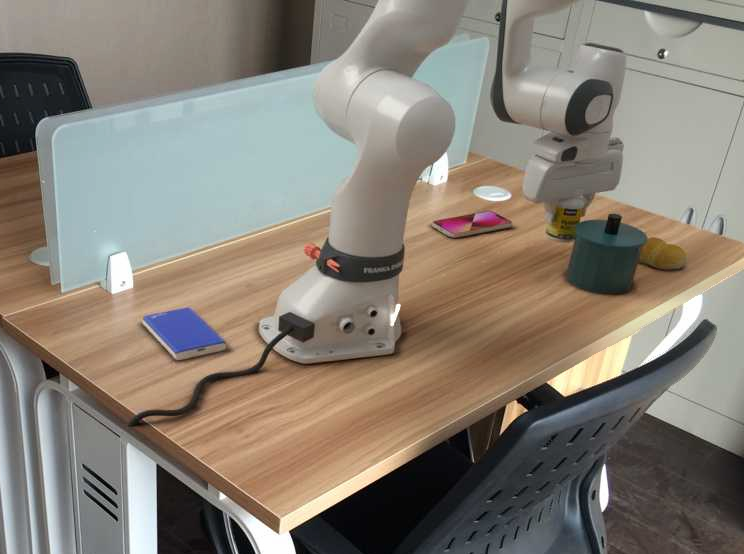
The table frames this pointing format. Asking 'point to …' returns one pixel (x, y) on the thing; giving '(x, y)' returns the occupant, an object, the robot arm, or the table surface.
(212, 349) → the hard drive
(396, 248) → the robot arm
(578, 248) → the pot
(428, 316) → the table surface
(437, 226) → the smartphone
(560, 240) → the supplement bottle
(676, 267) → the bread roll
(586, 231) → the pot lid
